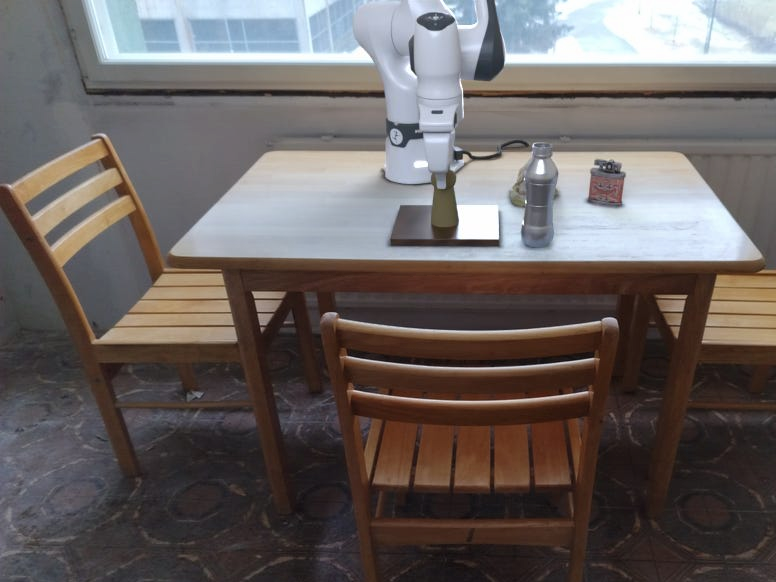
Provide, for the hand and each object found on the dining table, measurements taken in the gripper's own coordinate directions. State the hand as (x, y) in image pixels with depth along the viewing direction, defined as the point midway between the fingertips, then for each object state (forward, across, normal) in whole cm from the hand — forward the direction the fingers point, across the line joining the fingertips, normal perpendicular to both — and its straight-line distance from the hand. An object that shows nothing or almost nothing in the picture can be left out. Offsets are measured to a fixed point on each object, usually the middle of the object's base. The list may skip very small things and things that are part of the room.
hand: (443, 178), depth 133 cm
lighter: (+12, -15, +36) cm, 40 cm away
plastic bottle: (+11, +8, +19) cm, 24 cm away
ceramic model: (+12, -18, +19) cm, 29 cm away
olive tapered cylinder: (+9, +1, 0) cm, 9 cm away
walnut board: (+11, +1, 0) cm, 11 cm away
